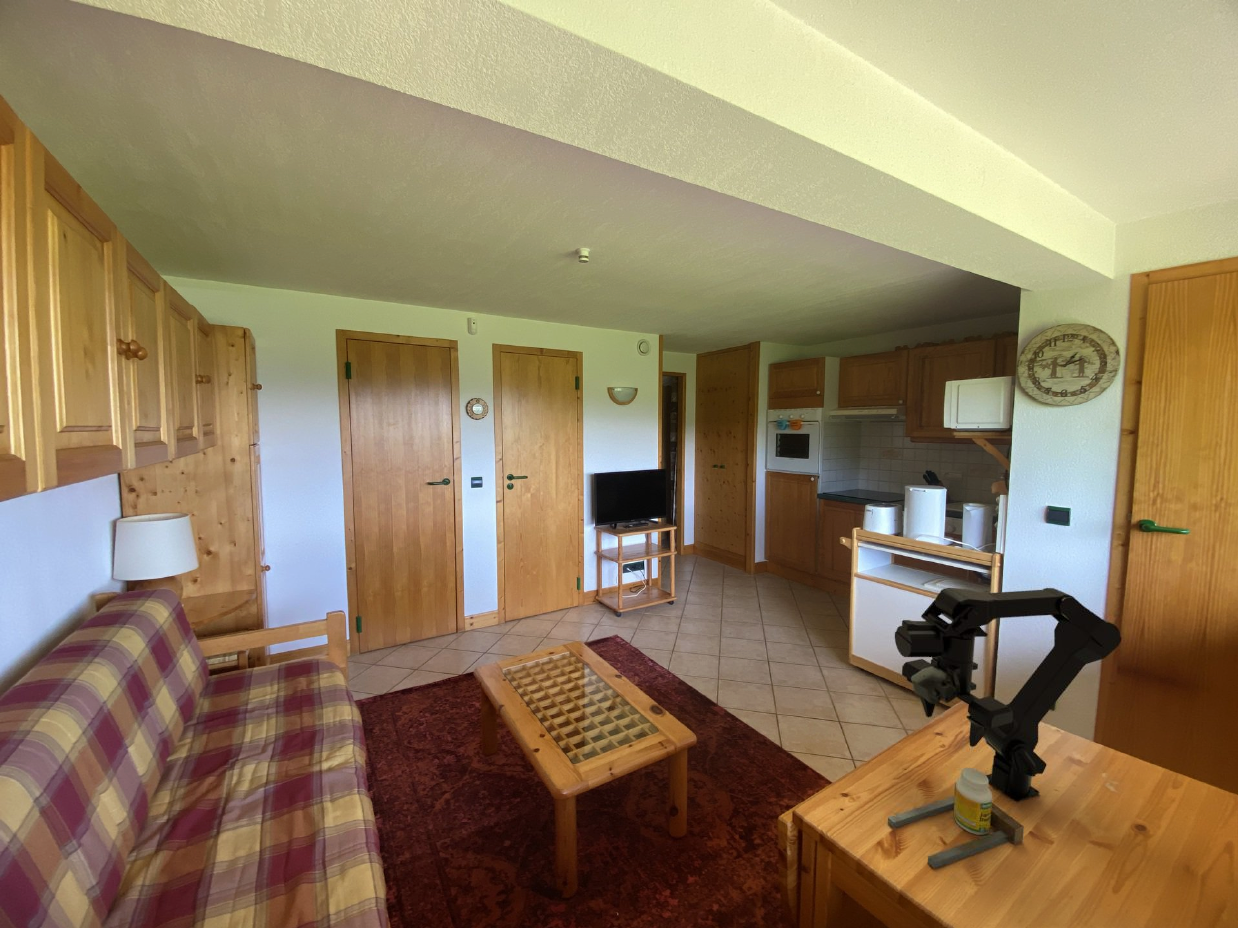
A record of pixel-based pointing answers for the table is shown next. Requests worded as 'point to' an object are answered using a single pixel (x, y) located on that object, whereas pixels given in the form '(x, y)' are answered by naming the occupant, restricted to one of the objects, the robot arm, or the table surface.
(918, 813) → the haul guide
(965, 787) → the supplement bottle
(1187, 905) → the table surface
